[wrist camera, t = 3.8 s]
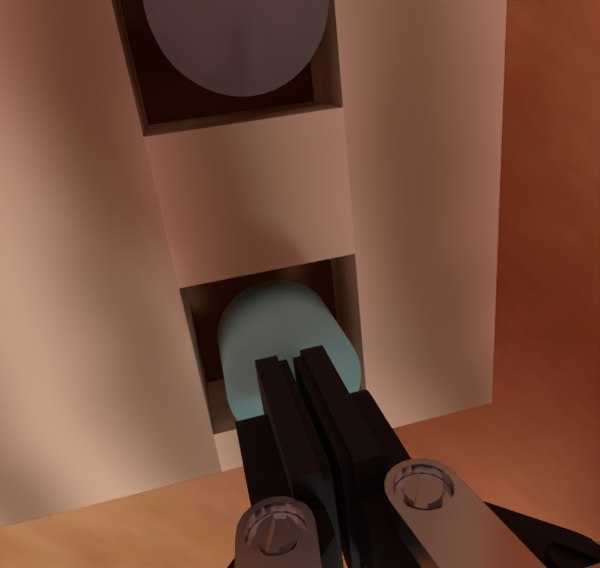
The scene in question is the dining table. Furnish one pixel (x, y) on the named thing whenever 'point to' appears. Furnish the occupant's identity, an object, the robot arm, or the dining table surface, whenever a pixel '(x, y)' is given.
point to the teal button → (277, 338)
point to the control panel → (233, 235)
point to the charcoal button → (238, 40)
